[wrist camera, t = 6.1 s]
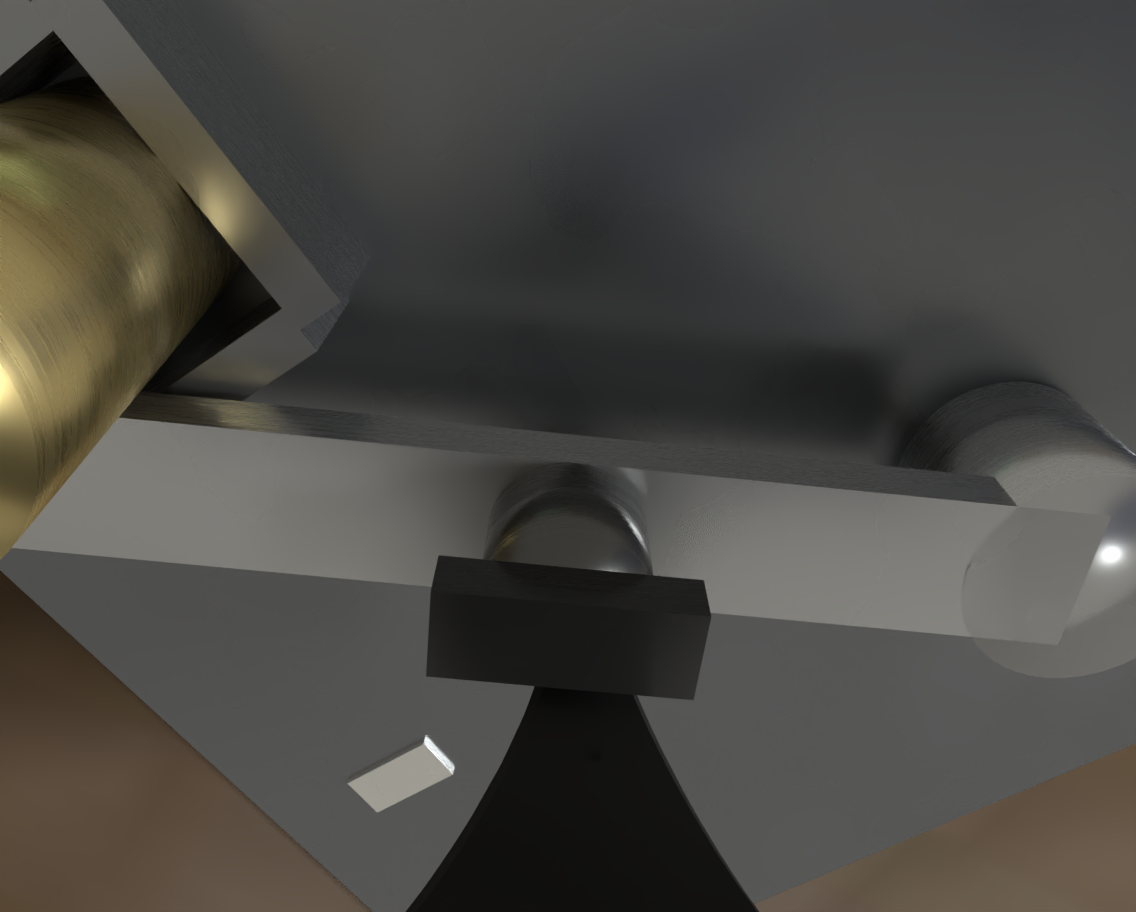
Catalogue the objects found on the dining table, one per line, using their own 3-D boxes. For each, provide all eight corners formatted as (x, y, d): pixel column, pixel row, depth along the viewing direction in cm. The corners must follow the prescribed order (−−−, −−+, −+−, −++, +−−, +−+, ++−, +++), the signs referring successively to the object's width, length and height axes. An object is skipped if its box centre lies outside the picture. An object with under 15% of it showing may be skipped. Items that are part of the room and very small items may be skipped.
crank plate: (1427, -1234, 8) (1817, -1778, 5) (1694, 445, 15) (1924, 546, 12) (-271, 247, 14) (-461, 315, 11) (491, 969, 20) (479, 1111, 18)
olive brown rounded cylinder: (111, 19, 11) (-268, 116, 6) (299, 227, 12) (124, 461, 7) (-56, 181, 12) (-519, 394, 7) (137, 363, 13) (-128, 661, 8)
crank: (1130, 393, 13) (1388, 597, 9) (1060, 567, 14) (1259, 818, 10) (73, 282, 13) (-177, 446, 8) (96, 475, 14) (-110, 702, 10)
